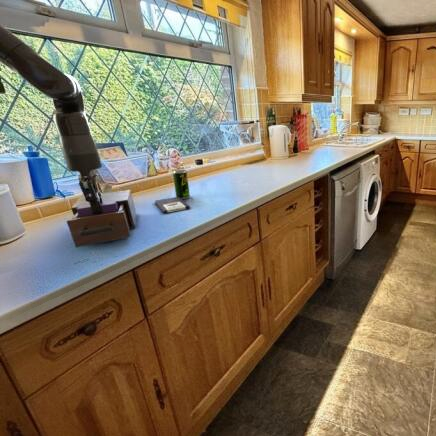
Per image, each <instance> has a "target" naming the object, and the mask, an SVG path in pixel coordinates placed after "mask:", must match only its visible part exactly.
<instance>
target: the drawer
mask: <svg viewBox="0 0 436 436" xmlns="http://www.w3.org/2000/svg"><path fill="white" fill-rule="evenodd" d="M117 205H118V212H113V213H107V214H100V215H94V216H88V217H81V218H79V215H78V212H77V213H76V214H75V215H73V217H72V218H69V219H66V223H67V226H68V229H69V233H70V236H71V238H72V241H73V243H74V246H75V248H81V247H85V246H90V245H95V244H96V245H97V244H101V243H107V242H111V241H117V240H122V239H127V238H131V236H132V235H131V232H130V229H129V226H130V219H129V216H128V212H127V209H126V205H125V203H120V204H117Z"/></svg>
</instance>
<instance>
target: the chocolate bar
mask: <svg viewBox="0 0 436 436" xmlns="http://www.w3.org/2000/svg"><path fill="white" fill-rule="evenodd" d="M154 202H155V203H154V204H156V205H157V207H158V208H159V209H160V210H161V212H162V213H163V214H168V213H173V212H174V213H175V212H178V211H183V210H188V209H190V205H189V204H188V203H187V202H185V201H184V199H181V198H180V197H176V196H175V197H168V198H162V199H157V200H155V201H154Z"/></svg>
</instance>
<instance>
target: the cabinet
mask: <svg viewBox="0 0 436 436" xmlns="http://www.w3.org/2000/svg"><path fill="white" fill-rule="evenodd" d="M101 194H102V196H101V197H102V201H103V202H108V201H115V200H116V201H117V204H120V203H125V205H126V209H127V212H128V216H129V219H130V226H129V230H133V229H136V227H137V218H138V214H137V210H136V206H135V203H134V198H133V195H132V192H131V189H126V190H117V191H111V192H109V193H101ZM89 196H90V194H89ZM90 197H91V196H90ZM86 204H90V203H89V202H88V201H86V200H85V197H84V195H81V196H80V197H79V198H78V199H77V200H76V202H75V203H74V204H73V205H72V207H71V208H70V209H71V212H72V214H73V216H74V215H75V214H76V213H77V208H78V207H79V205H86Z"/></svg>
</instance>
